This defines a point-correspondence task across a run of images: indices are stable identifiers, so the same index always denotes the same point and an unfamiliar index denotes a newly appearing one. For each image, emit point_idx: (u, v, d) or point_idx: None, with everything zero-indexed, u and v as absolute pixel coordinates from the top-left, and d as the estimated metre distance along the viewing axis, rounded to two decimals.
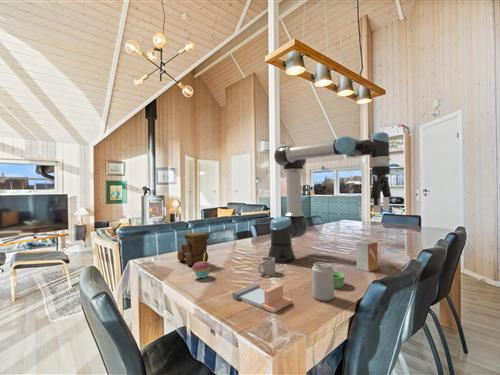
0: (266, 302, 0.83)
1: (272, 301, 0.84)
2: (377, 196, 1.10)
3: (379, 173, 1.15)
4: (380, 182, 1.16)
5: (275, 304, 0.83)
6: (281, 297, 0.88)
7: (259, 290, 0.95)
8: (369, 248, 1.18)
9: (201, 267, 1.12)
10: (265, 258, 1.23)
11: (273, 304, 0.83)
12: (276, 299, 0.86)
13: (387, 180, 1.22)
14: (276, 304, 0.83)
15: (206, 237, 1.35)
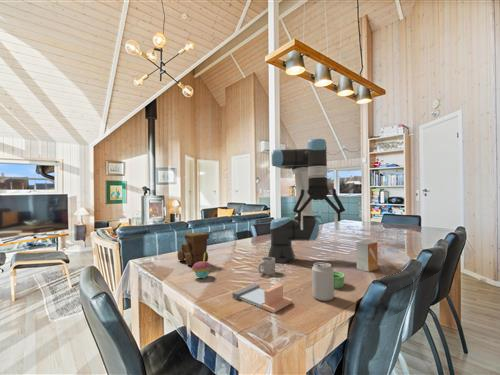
0: (266, 302, 0.83)
1: (272, 301, 0.84)
2: (295, 211, 1.03)
3: (308, 186, 1.03)
4: (310, 196, 1.03)
5: (275, 304, 0.83)
6: (281, 297, 0.88)
7: (259, 290, 0.95)
8: (369, 248, 1.18)
9: (201, 267, 1.12)
10: (265, 258, 1.23)
11: (273, 304, 0.83)
12: (276, 299, 0.86)
13: (333, 193, 1.01)
14: (276, 304, 0.83)
15: (206, 237, 1.35)
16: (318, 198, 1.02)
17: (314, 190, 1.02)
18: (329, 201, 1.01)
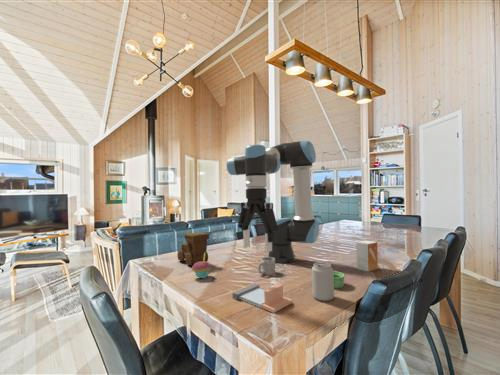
0: (266, 302, 0.83)
1: (272, 301, 0.84)
2: (239, 227, 0.96)
3: None
4: None
5: (275, 304, 0.83)
6: (281, 297, 0.88)
7: (259, 290, 0.95)
8: (369, 248, 1.18)
9: (201, 267, 1.12)
10: (265, 258, 1.23)
11: (273, 304, 0.83)
12: (276, 299, 0.86)
13: (266, 208, 0.87)
14: (276, 304, 0.83)
15: (206, 237, 1.35)
16: (254, 211, 0.91)
17: (251, 202, 0.92)
18: (261, 217, 0.88)
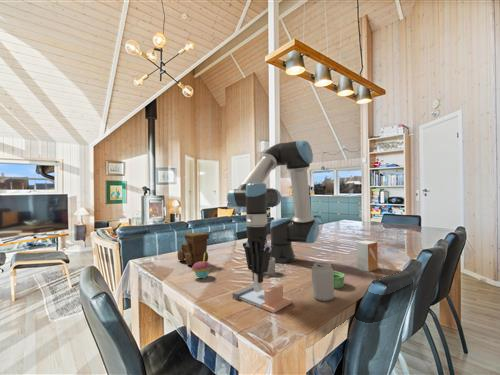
0: (266, 302, 0.83)
1: (272, 301, 0.84)
2: (249, 269, 0.92)
3: None
4: (249, 245, 0.93)
5: (275, 304, 0.83)
6: (281, 297, 0.88)
7: None
8: (369, 248, 1.18)
9: (201, 267, 1.12)
10: None
11: (273, 304, 0.83)
12: (276, 299, 0.86)
13: None
14: (276, 304, 0.83)
15: (206, 237, 1.35)
16: (255, 249, 0.91)
17: (250, 237, 0.92)
18: (257, 257, 0.90)
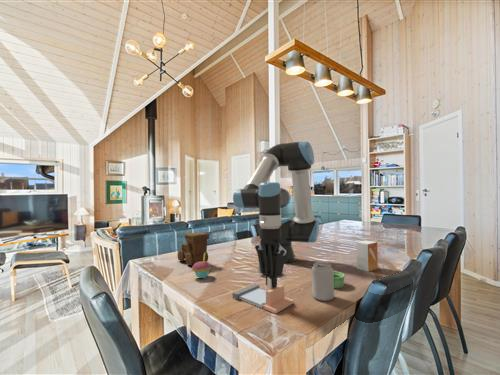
0: (267, 303, 0.83)
1: (273, 302, 0.84)
2: (262, 273, 0.88)
3: None
4: (262, 248, 0.89)
5: (276, 305, 0.83)
6: (282, 298, 0.87)
7: (259, 290, 0.95)
8: (369, 248, 1.18)
9: (201, 267, 1.12)
10: None
11: (275, 305, 0.83)
12: (277, 300, 0.85)
13: (279, 253, 0.83)
14: (277, 305, 0.83)
15: (206, 237, 1.35)
16: (268, 252, 0.86)
17: (263, 239, 0.88)
18: (271, 260, 0.85)
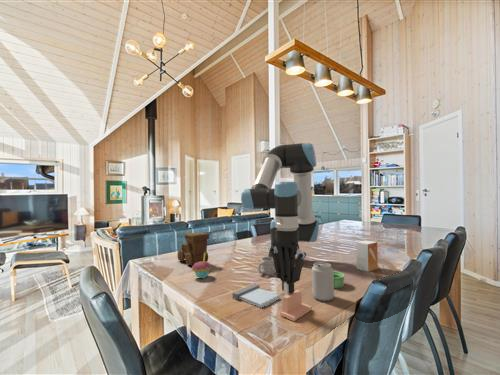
0: (285, 309, 0.78)
1: (291, 308, 0.79)
2: (278, 277, 0.83)
3: None
4: (278, 251, 0.84)
5: (294, 312, 0.78)
6: (300, 303, 0.82)
7: (259, 290, 0.95)
8: (369, 248, 1.18)
9: (201, 267, 1.12)
10: (265, 258, 1.23)
11: (292, 311, 0.78)
12: (295, 306, 0.80)
13: (297, 257, 0.78)
14: (295, 312, 0.78)
15: (206, 237, 1.35)
16: (285, 256, 0.81)
17: (279, 242, 0.83)
18: (288, 264, 0.80)
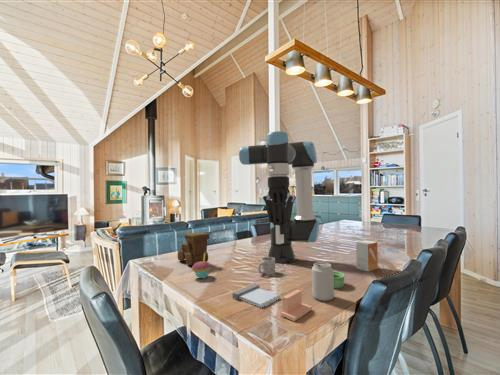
0: (285, 309, 0.78)
1: (291, 308, 0.79)
2: (271, 221, 0.90)
3: None
4: (270, 198, 0.91)
5: (294, 312, 0.78)
6: (300, 303, 0.82)
7: (259, 290, 0.95)
8: (369, 248, 1.18)
9: (201, 267, 1.12)
10: (265, 258, 1.23)
11: (292, 311, 0.78)
12: (295, 306, 0.80)
13: (287, 199, 0.85)
14: (295, 312, 0.78)
15: (206, 237, 1.35)
16: (277, 201, 0.88)
17: (271, 189, 0.90)
18: (279, 207, 0.87)
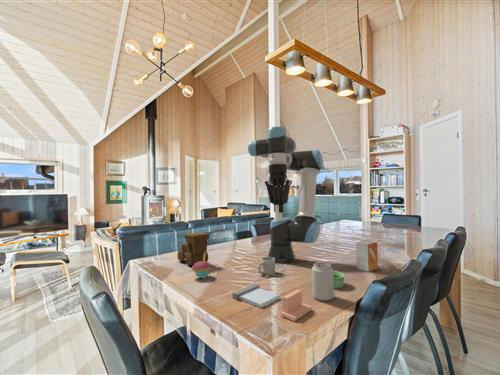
0: (285, 309, 0.78)
1: (291, 308, 0.79)
2: (271, 202, 1.07)
3: None
4: (271, 182, 1.08)
5: (294, 312, 0.78)
6: (300, 303, 0.82)
7: (259, 290, 0.95)
8: (369, 248, 1.18)
9: (201, 267, 1.12)
10: (265, 258, 1.23)
11: (292, 311, 0.78)
12: (295, 306, 0.80)
13: (285, 183, 1.02)
14: (295, 312, 0.78)
15: (206, 237, 1.35)
16: (276, 184, 1.05)
17: (272, 175, 1.07)
18: (278, 190, 1.04)
